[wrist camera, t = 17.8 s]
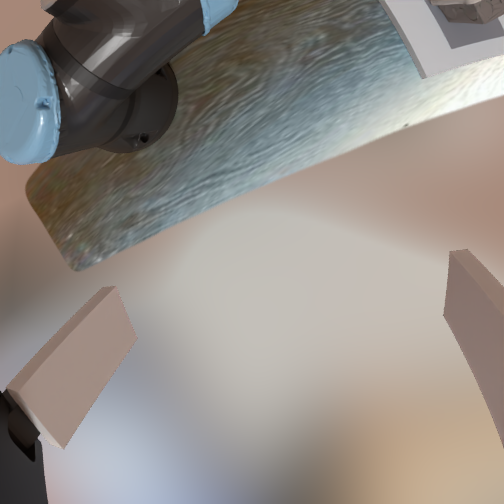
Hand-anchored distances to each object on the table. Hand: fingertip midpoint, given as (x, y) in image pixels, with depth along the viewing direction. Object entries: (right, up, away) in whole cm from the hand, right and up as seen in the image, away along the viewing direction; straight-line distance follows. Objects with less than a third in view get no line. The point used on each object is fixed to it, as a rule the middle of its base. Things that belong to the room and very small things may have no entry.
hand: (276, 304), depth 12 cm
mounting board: (+27, +35, +15) cm, 46 cm away
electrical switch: (+26, +34, +13) cm, 45 cm away
